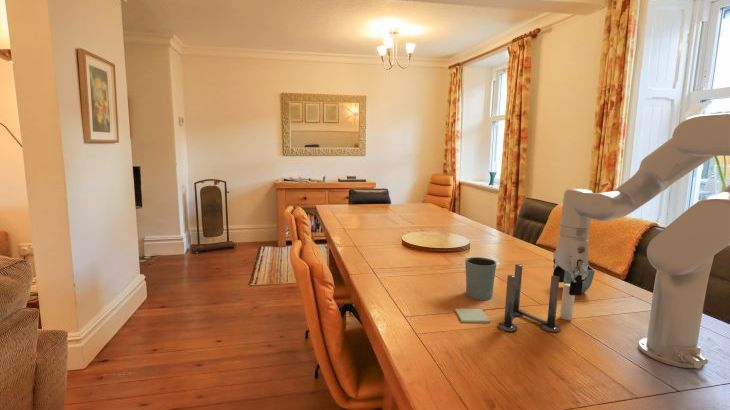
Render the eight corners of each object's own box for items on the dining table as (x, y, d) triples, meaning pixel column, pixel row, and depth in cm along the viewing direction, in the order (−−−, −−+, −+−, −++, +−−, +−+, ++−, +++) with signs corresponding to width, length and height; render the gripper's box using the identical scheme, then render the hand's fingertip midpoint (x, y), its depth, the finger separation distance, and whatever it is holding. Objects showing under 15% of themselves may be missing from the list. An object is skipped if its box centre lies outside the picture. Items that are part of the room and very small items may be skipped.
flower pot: (593, 295, 132) (595, 270, 131) (565, 293, 134) (567, 268, 132) (584, 286, 140) (586, 263, 139) (557, 284, 142) (560, 261, 141)
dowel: (574, 320, 113) (577, 287, 111) (563, 320, 113) (566, 287, 111) (568, 315, 116) (572, 283, 114) (558, 315, 116) (561, 283, 114)
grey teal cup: (473, 302, 125) (475, 266, 123) (457, 290, 134) (459, 257, 133) (500, 299, 127) (503, 264, 126) (483, 288, 137) (485, 255, 135)
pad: (489, 322, 110) (489, 320, 110) (461, 322, 110) (461, 320, 110) (481, 310, 118) (481, 309, 118) (455, 310, 118) (455, 308, 118)
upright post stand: (564, 332, 105) (569, 280, 103) (501, 332, 105) (505, 279, 102) (539, 309, 120) (543, 263, 117) (484, 309, 120) (487, 262, 117)
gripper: (605, 240, 102) (595, 301, 105) (570, 225, 119) (563, 278, 122) (577, 239, 102) (568, 300, 105) (546, 224, 119) (540, 277, 122)
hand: (565, 288), depth 114 cm, fingers open, 9 cm apart
